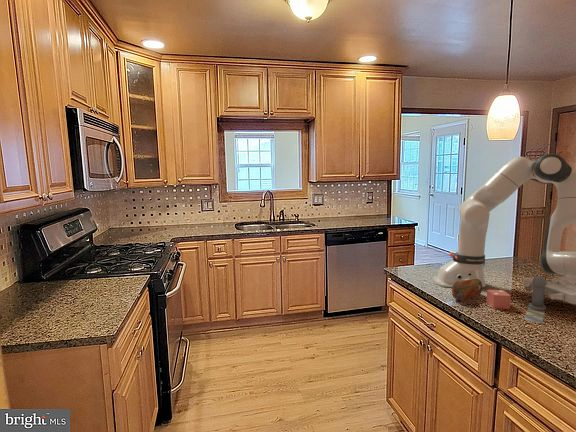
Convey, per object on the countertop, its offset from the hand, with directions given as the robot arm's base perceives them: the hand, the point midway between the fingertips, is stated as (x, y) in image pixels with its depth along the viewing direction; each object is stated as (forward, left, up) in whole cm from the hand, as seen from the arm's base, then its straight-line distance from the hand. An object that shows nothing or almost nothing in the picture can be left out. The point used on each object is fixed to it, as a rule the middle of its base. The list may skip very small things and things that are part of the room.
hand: (537, 292), depth 132 cm
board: (-3, -5, -7) cm, 9 cm away
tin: (-21, +10, -8) cm, 25 cm away
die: (-13, +1, -7) cm, 15 cm away
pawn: (+1, 0, -6) cm, 6 cm away
